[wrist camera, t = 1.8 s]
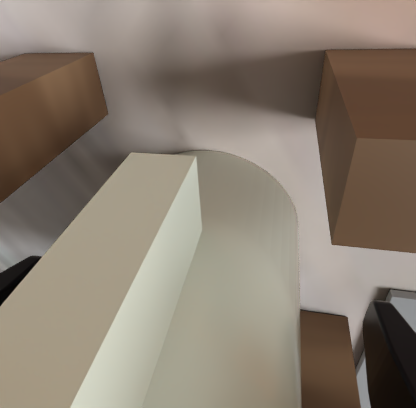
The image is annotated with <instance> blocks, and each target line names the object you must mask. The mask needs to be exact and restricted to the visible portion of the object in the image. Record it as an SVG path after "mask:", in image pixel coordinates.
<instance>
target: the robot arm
mask: <svg viewBox="0 0 416 408" xmlns="http://www.w3.org/2000/svg"><path fill="white" fill-rule="evenodd" d="M41 258H42V257H41V256H30V257H28V258H26V259H24V260H23V261H21V262H19V263H17V264H16V265H14V266H12V267H10V268H8V269H7V270H5V271H3V272H1V273H0V306H1V305H2V304H3V303H4V301H5V300H6V299H7V298H8V297H9V295H10V294H11V293H12V292H13V291H14V290H15V288H16V287H17V286H18V285H19V284H20V283H21V281H22V280H23V279H24V278H25V277H26V275H27V274H28V273H29V272H30V271H31V270H32V268H33V267H34V266H35V265H36V264H37V263H38V261H39V260H40V259H41ZM363 336H364V349H365V362H366V375H367V386H368V394H369V400H370V406H371V408H416V332H415V331H414V330H413V329H412V327H411V326H410V325H409V324H408V323H407V321H406V320H405V319H404V318H403V316H402V315H401V314H400V313H399V311H398V310H397V309H396V308H395V307H394V305H393V304H392V303H390V302H387V301H380V300H372V301H371V302H370V304H369V307H368V310H367V312H366V315H365V317H364V320H363Z"/></svg>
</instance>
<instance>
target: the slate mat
mask: <svg viewBox="0 0 416 408" xmlns="http://www.w3.org/2000/svg"><path fill="white" fill-rule="evenodd" d="M385 301H387V302H390V303H392V304H393V305H394V307H395V308H396V309H397V310H398V311H399V313H400V314H401V315H402V316H403V318H404V319H405V320H406V321H407V323H408V324H409V325H410V326H411V327H412V329H413V330H414V331H415V332H416V293H415V292H407V291H399V290H391V289H390V291H389V293H388V295H387V298H386V300H385ZM355 371H356V378H357V384H358V391H359V398H360V404H361V408H371V406H370V400H369V394H368V386H367V375H366V362H365V349H364V351H363V353H362V356H361V358H360V360H359V363H358V365H357V367H356V370H355Z"/></svg>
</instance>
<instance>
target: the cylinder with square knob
mask: <svg viewBox="0 0 416 408" xmlns="http://www.w3.org/2000/svg"><path fill="white" fill-rule="evenodd" d="M0 408H302V395H301V339H300V283H299V226H298V217H297V213H296V210H295V206H294V204H293V202H292V200H291V198H290V196H289V195H288V193H287V192H286V190H285V189H284V188H283V187H282V185H281V184H280V183H279V182H278V181H277V180H276V179H275V178H274V177H273V176H271V175H270V174H269V173H268V172H267V171H265V170H264V169H262V168H261V167H259V166H257V165H256V164H254V163H252V162H250V161H248V160H246V159H243V158H240V157H238V156H235V155H232V154H227V153H223V152H217V151H208V150H196V151H188V152H182V153H178V154H174V155H169V154H150V153H132V152H131V153H130V154H129V155H128V157H127V158H126V159H125V160H124V161H123V162H122V164H121V165H120V166H119V167H118V168H117V170H116V171H115V172H114V173H113V174H112V175H111V177H110V178H109V179H108V180H107V181H106V183H105V184H104V185H103V186H102V187H101V188H100V190H99V191H98V192H97V193H96V194H95V195H94V197H93V198H92V199H91V200H90V201H89V203H88V204H87V205H86V206H85V207H84V208H83V210H82V211H81V212H80V213H79V214H78V215H77V217H76V218H75V219H74V220H73V221H72V223H71V224H70V225H69V226H68V227H67V228H66V230H65V231H64V232H63V233H62V234H61V235H60V237H59V238H58V239H57V240H56V241H55V243H54V244H53V245H52V246H51V247H50V248H49V250H48V251H47V252H46V253H45V254H44V255H43V257H42V258H41V259H40V260H39V261H38V263H37V264H36V265H35V266H34V267H33V268H32V270H31V271H30V272H29V273H28V274H27V275H26V277H25V278H24V279H23V280H22V281H21V283H20V284H19V285H18V286H17V287H16V288H15V290H14V291H13V292H12V293H11V294H10V295H9V297H8V298H7V299H6V300H5V301H4V303H3V304H2V305H1V306H0Z"/></svg>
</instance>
